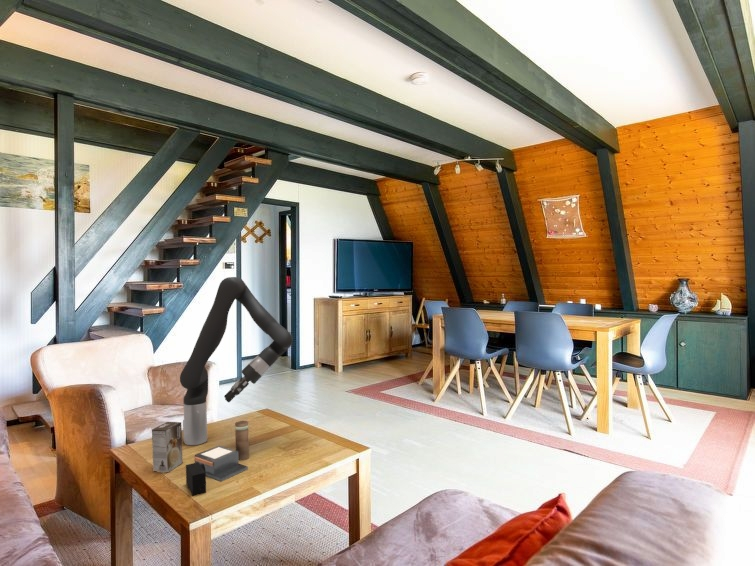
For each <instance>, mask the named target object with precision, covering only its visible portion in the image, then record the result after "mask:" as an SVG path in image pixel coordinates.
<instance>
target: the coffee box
mask: <svg viewBox="0 0 755 566" xmlns="http://www.w3.org/2000/svg"><path fill="white" fill-rule="evenodd" d="M151 440H152V441H151V443H152V467H153V468H152V469H153V472H154V471H160V472H159V473H164V472H168V473H170V472H171V471H172V470H174V469H176V468H177V467H178V466H180V465H181V464H183V462H184V461H183V429H182V422H178V421H166V422H164V423H162V424H160V425H158V426H156V427H154V428H152V429H151ZM169 471H170V472H169Z"/></svg>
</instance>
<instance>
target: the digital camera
mask: <svg viewBox="0 0 755 566" xmlns="http://www.w3.org/2000/svg"><path fill="white" fill-rule="evenodd" d="M206 477H207V476H206V472H205V466H204V464H199V462H197V463H195V462H193V463H188V464H186V465H185V479H186V480H185V483H186V486H187V488H188V490H189V492H190V494H191V495H192V497H194V496H198V495H202V494H206V493H207V481H206V480H207V478H206Z"/></svg>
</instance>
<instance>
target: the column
mask: <svg viewBox="0 0 755 566" xmlns="http://www.w3.org/2000/svg"><path fill="white" fill-rule="evenodd" d="M249 426H250V425H249V421H248V420H239V421H236V422H235V423H234V430H235V431H234V432H235V433H234V434H235V435H234V436H235V441H234V443H235V450H236V451H238V458H239V461H245V460H248V459H249V458H250V447H249V445H250V443H249V441H250V440H249V437H250V435H249V428H250V427H249Z"/></svg>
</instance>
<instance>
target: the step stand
mask: <svg viewBox="0 0 755 566" xmlns="http://www.w3.org/2000/svg"><path fill="white" fill-rule="evenodd" d="M193 461H194V463H197V462H199V464H204V466H205V472H206V477H208V478H211V479H213V480H216V481H219V482H223V481H225V480H227V479H230V478H232V477H234V476H236V475H238V474H240V473H242V472H245V471H247V470H248V468H249V467H248V466H247V465H245V464H241V463H240V462H239V461H240V460H239V458H238V451H236V449H232V448H229V447H226V446H223V445H220V444H219V445H217V446H214V447H212V448H209V449H207V450H204V451H201V452H199V453H196V454H194V460H193Z"/></svg>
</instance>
